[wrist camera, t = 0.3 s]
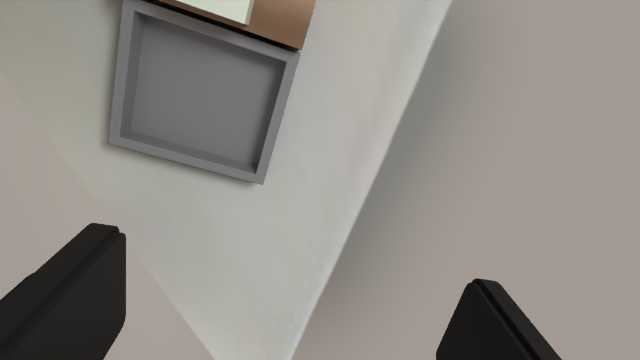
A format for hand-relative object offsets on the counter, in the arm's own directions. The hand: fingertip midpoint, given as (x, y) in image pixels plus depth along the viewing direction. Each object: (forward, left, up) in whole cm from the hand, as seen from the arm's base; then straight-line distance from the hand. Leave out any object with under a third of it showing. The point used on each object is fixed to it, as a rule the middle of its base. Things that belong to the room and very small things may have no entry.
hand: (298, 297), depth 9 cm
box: (+2, -9, -30) cm, 32 cm away
